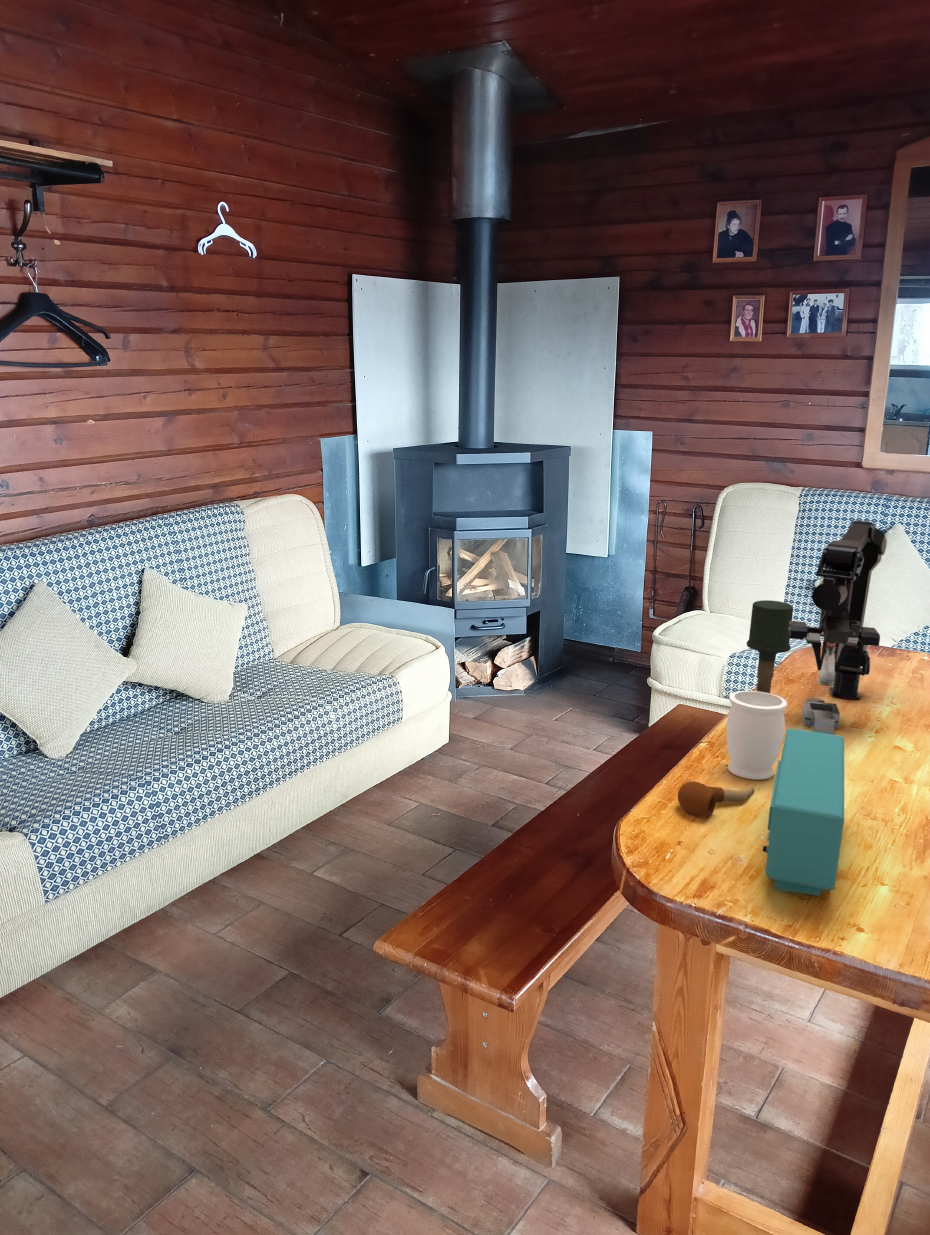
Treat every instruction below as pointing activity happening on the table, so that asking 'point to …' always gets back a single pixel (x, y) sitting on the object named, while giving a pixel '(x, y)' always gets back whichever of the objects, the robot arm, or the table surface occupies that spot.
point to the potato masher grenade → (769, 637)
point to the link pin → (828, 663)
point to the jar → (754, 733)
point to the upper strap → (821, 715)
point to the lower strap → (809, 720)
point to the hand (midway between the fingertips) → (827, 670)
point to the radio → (806, 813)
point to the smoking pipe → (708, 797)
